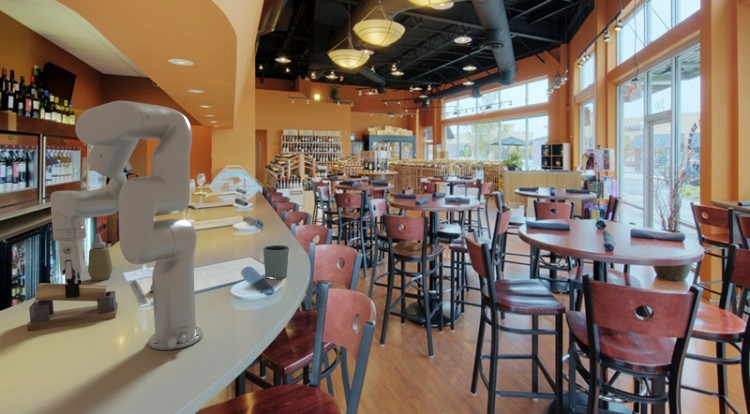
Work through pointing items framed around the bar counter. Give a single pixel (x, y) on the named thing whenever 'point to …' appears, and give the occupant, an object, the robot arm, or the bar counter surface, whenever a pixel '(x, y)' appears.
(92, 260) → the squeeze bottle
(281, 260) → the grey green cup
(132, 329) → the bar counter surface
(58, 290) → the oak slat
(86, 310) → the cradle board
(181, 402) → the bar counter surface
